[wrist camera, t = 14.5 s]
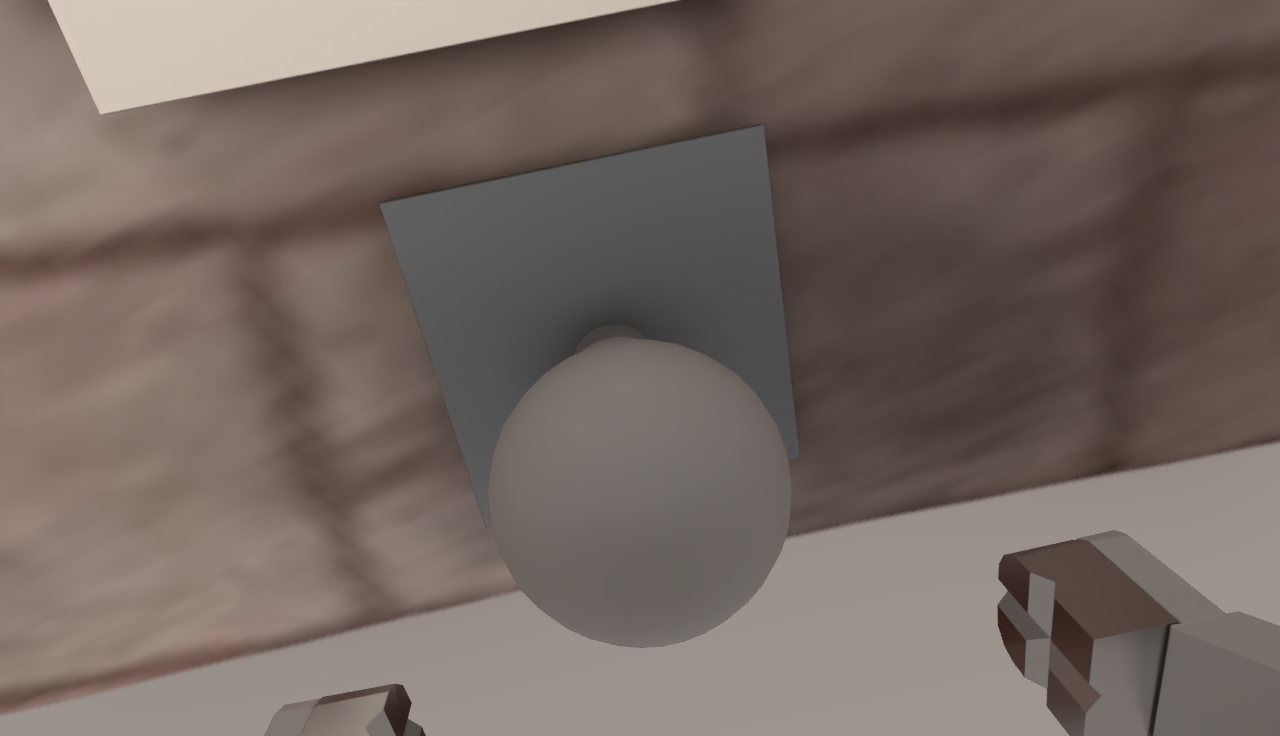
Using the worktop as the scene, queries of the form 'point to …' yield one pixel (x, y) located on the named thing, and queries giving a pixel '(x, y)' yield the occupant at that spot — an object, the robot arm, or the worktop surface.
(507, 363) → the mat
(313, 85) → the worktop surface
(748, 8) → the worktop surface
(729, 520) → the lightbulb
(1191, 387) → the worktop surface
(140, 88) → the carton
